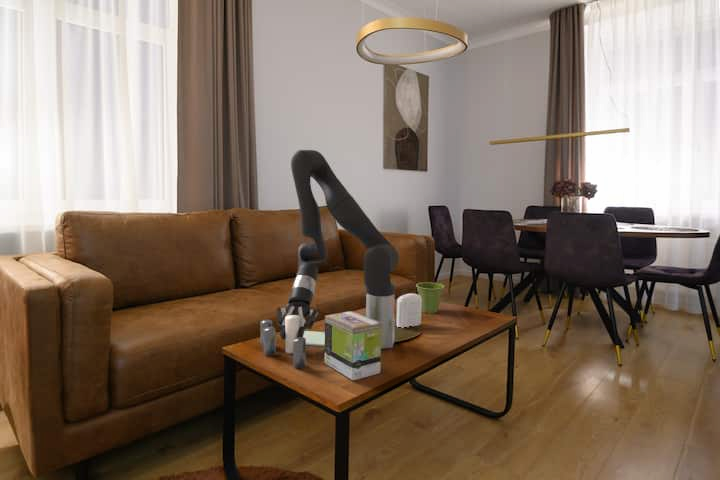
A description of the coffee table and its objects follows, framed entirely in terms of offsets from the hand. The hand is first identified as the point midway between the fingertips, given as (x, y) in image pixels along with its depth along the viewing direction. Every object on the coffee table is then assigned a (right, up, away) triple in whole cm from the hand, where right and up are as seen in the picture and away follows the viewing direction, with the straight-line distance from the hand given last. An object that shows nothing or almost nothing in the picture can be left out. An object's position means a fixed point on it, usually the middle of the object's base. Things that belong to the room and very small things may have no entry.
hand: (290, 338), depth 135 cm
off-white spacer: (0, -4, +2) cm, 5 cm away
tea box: (+19, -6, -10) cm, 23 cm away
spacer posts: (+1, -5, -2) cm, 5 cm away
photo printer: (+40, -2, +29) cm, 50 cm away
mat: (+5, -3, +14) cm, 15 cm away
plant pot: (+51, 0, +50) cm, 71 cm away
